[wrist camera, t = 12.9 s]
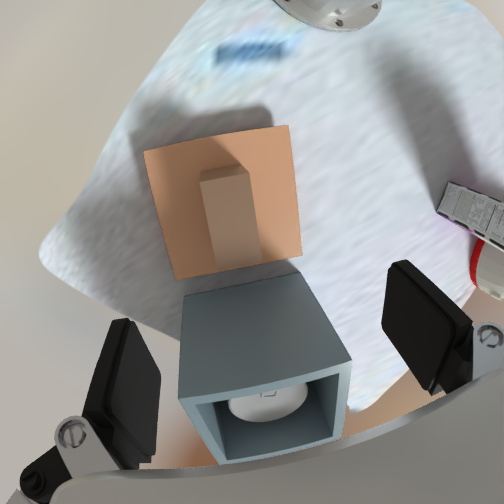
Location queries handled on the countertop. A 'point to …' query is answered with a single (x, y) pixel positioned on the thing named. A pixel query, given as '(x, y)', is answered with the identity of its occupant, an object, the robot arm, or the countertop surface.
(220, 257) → the lid
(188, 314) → the box
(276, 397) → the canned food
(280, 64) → the countertop surface
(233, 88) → the countertop surface
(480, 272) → the kitchen timer
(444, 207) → the candy bar box
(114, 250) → the countertop surface
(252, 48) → the countertop surface
